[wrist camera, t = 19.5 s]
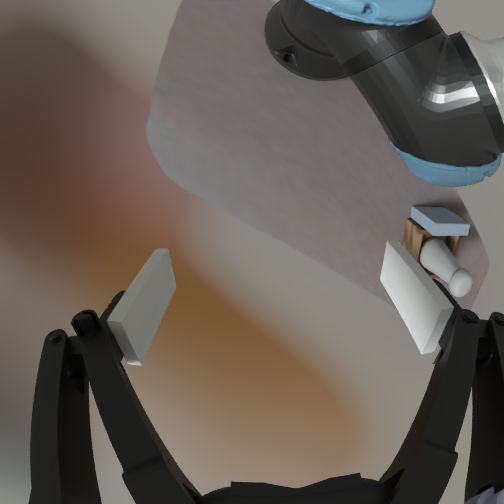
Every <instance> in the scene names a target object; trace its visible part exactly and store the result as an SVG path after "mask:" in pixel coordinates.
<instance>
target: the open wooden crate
mask: <svg viewBox="0 0 504 504" xmlns="http://www.w3.org/2000/svg"><path fill="white" fill-rule="evenodd" d="M426 238H430V239H431V238H438V239H440V240H442V241H444V242H445V244H446V245H447V247H448V248H449V250H450V251H451V253H452V254H453V256H454V255H455V251H456V247H457V243H458V239H459V236H433V235H432V234H431V233H429V232H428V231H427V230H426V229H425V228H423V227H422V226H421V225H420V224H419V223H417V222H416V221H415V220H414V219H407V220H406V227H405V233H404V239H403V244H402V246H403V247H404V248H405V249H406V250H407V251H408V252H409V253H410V255H411V256H412V257H413V258H414V259H415V260H416V261H417V262H418V264H419V265H420V266H421V267H422V268H423V269H424V271H425V272H426V273H427V274H428V275H429V276H430V278H431V279H434V278H440V277H438V276H437V275H435V274H434V273H432V272H431V271H429V270H428V269H426V268H425V267H424V266H423V265H422V263H421V261H420V257H419V251H420V246H421V243H422V242H423V241H424V240H425V239H426Z"/></svg>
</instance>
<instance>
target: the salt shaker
mask: <svg viewBox="0 0 504 504" xmlns="http://www.w3.org/2000/svg"><path fill="white" fill-rule="evenodd" d="M419 257H420V261H421V263H422V265H423V266H424V267H425V268H426V269H428V270H429V271H431V272H432V273H434V274H435V275H437V276H438V277H440V278H441V279H443V280H444V281H446V282H447V283H448V284H449V289H450V291H451V292H452V294H453V295H454V296H456V297H461V296H464V295H466V294H467V293H468V292H469V291H470V289H471V287H472V284H473V277H472V274H471V273H470V272H469V271H468V270H466V269H464V268H463V269H462V268H461V266H460V265H459V263H458V262H457V260H456V259H455V257H454V256H453V254H452V253H451V251H450V250H449V248H448V247H447V245H446V244H445V242H444V241H442V240H440V239H438V238H431V239H430V238H426V239H425V240H424V241H423V242H422V243H421V246H420V251H419Z"/></svg>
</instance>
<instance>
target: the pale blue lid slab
mask: <svg viewBox="0 0 504 504" xmlns="http://www.w3.org/2000/svg"><path fill="white" fill-rule="evenodd" d="M411 218H412V219H414V220H415V221H416V222H417V223H419V224H420V225H421V226H422V227H423V228H425V229H426V230H427V231H428V232H429V233H431V234H432V235H433V236H468V232H469V228H470V224H469V223H468V222H466V221H465V220H463V219H462V218H460V217H459V216H458V215H456V214H454V213H453V212H451V211H450V210H448V209H447V208H444V207H422V206H412V210H411Z"/></svg>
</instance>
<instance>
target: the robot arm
mask: <svg viewBox="0 0 504 504" xmlns="http://www.w3.org/2000/svg"><path fill="white" fill-rule="evenodd" d="M434 3H435V0H280V1H279V2H277V3H276V4H275V5H274V6H273V7H272V9H271V10H270V12H269V13H268V16H267V18H266V21H265V40H266V44H267V46H268V48H269V50H270V52H271V54H272V55H273V57H274V58H275V59H276V60H277V61H278V62H279V63H280V64H281V65H282V66H283V67H285V68H286V69H287V70H289V71H291V72H292V73H294V74H296V75H299V76H301V77H304V78H308V79H312V80H319V81H328V80H335V79H339V78H342V77H344V76H346V75H349V77H350V78H351V80H352V81H353V82H354V84H355V85H356V86H357V88H358V89H359V91H360V92H361V94H362V95H363V97H364V98H365V99H366V101H367V102H368V104H369V106H370V107H371V109H372V110H373V112H374V113H375V115H376V117H377V118H378V120H379V121H380V123H381V125H382V126H383V128H384V130H385V131H386V133H387V135H388V139H389V141H390V143H391V145H392V146H393V147H394V148H395V149H396V150H397V151H398V153H399V155H400V156H401V158H402V160H403V161H404V163H405V165H406V167H407V168H408V169H409V171H410V172H411V173H412V174H414V175H416V176H417V177H418V178H420V179H421V180H423V181H425V182H428V183H430V184H434V185H439V186H447V187H457V186H458V187H459V186H467V185H472V184H475V183H478V182H481V181H483V180H484V176H488V177H490V176H491V175H493V174H494V173H495V172H496V171H497V169H498V168H499V166H500V162H501V156H502V153H504V37H502V38H497V39H493V40H490V41H482V40H480V39H479V38H477V37H475V36H473V35H471V34H469V33H466V32H464V31H461V32H458V33H455V34H452V35H449V36H448V35H446V33H445V32H444V31H443V29H442V28H441V26H440V25H439V23H438V22H437V20H436V19H435V18H434V16H433V15H432V9H433V6H434ZM380 281H381V282H382V284H383V286H384V287H385V289H386V291H387V292H388V294H389V296H390V297H391V299H392V301H393V302H394V304H395V306H396V308H397V309H398V311H399V313H400V315H401V316H402V318H403V320H404V322H405V324H406V326H407V327H408V329H409V331H410V333H411V335H412V337H413V339H414V340H415V342H416V344H417V346H418V348H419V350H420V352H421V354H426V353H430V352H434V350H435V348H436V346H437V344H438V343H439V345H440V346H441V350H440V352H439V354H438V355H437V357H436V359H435V361H434V363H433V364H435V363H436V364H435V367H434V370H433V373H432V376H431V379H430V382H429V385H428V387H427V390H426V393H425V395H424V398H423V400H422V403H421V405H420V407H419V410H418V412H417V414H416V417H415V419H414V421H413V423H412V426H411V428H410V430H409V432H408V434H407V436H406V438H405V440H404V442H403V444H402V446H401V448H400V450H399V452H398V453H397V455H396V457H395V459H394V461H393V462H392V464H391V465H390V467H389V468H388V470H387V471H386V472H385V473H384V474H383V476H382V477H381V478H380V480H379V481H376V480H372V479H366V478H361V475H360V473H356V474H351V475H345V476H339V477H333V478H328V479H326V480H323V481H320V482H317V483H314V484H311V485H308V486H305V487H301V488H290V487H284V486H278V485H273V484H268V483H253V482H231V487H225V488H221V489H218V490H215V491H212V492H210V493H208V494H205V495H204V496H202V495H201V494H200V493H199V492H198V490H197V489H196V488H195V487H194V486H193V484H192V483H191V482H190V481H189V480H188V479H187V477H186V476H185V475H184V473H183V472H182V471H181V469H180V468H179V466H178V465H177V463H176V462H175V460H174V459H173V457H172V456H171V454H170V453H169V451H168V450H167V448H166V447H165V445H164V443H163V442H162V440H161V438H160V437H159V435H158V433H157V432H156V430H155V428H154V427H153V425H152V423H151V421H150V420H149V418H148V416H147V414H146V412H145V410H144V408H143V406H142V405H141V403H140V401H139V399H138V397H137V395H136V393H135V391H134V389H133V387H132V385H131V382H130V380H129V378H128V376H127V374H126V371H125V369H124V367H123V365H122V363H121V360H122V358H123V356H124V357H125V359H126V361H127V363H128V364H133V365H140V366H142V364H143V362H144V359H145V357H146V354H147V352H148V349H149V347H150V345H151V342H152V340H153V338H154V336H155V333H156V331H157V329H158V326H159V324H160V322H161V320H162V317H163V315H164V313H165V311H166V308H167V306H168V304H169V302H170V300H171V298H172V295H173V293H174V291H175V289H176V283H175V278H174V274H173V270H172V265H171V261H170V256H169V252H168V249H167V248H164V249H156V250H155V251H154V253H153V254H152V256H151V257H150V258H149V259H148V261H147V262H146V264H145V265H144V266H143V268H142V269H141V271H140V272H139V273H138V275H137V276H136V278H135V279H134V280H133V282H132V283H131V285H130V286H129V288H128V289H127V290H126V291H121V292H119V293H118V294H117V295H116V296H115V297H114V298H113V300H112V301H111V303H110V304H109V305H108V307H107V309H106V310H105V311H104V312H103V314H102V316H101V317H100V318H98V316H97V314H96V312H95V311H94V310H84V311H81V312H79V313H78V314H76V315H75V316H74V317H73V319H72V322H71V324H72V326H73V328H74V330H75V332H76V334H77V336H71V337H68V336H67V334H66V332H65V331H64V330H62V329H57V330H54V331H52V332H50V333H49V334H48V335H47V337H46V339H45V341H44V345H43V350H42V354H41V359H40V364H39V369H38V374H37V380H36V387H35V395H34V402H33V411H32V422H31V423H32V424H31V442H30V463H31V464H30V466H31V485H32V489H31V494H30V500H29V504H102V503H101V497H100V492H99V488H98V482H97V476H96V471H95V464H94V457H93V449H92V440H91V429H90V415H89V414H90V413H89V382H90V385H91V388H92V392H93V395H94V398H95V401H96V404H97V407H98V410H99V413H100V416H101V418H102V421H103V424H104V426H105V429H106V431H107V434H108V436H109V439H110V441H111V443H112V446H113V448H114V450H115V452H116V455H117V457H118V459H119V461H120V463H121V465H122V467H123V471H124V472H123V474H122V478H123V480H124V483H125V484H126V487H127V488H128V490H129V492H130V494H131V496H132V497H133V499H134V501H135V503H136V504H438V503H439V501H440V499H441V497H442V495H443V493H444V490H445V488H446V486H447V484H448V482H449V479H450V477H451V474H452V472H453V469H454V467H455V464H456V462H457V458H458V453H457V452H455V446H456V443H457V440H458V437H459V434H460V430H461V427H462V424H463V420H464V417H465V413H466V409H467V405H468V401H469V396H470V392H471V387H472V402H473V403H472V405H473V410H472V411H473V413H472V437H471V450H470V459H469V466H468V473H467V479H466V487H465V500H464V501H465V502H464V504H504V314H502V313H499V312H493V313H492V314H491V316H490V318H489V320H480V319H479V318H478V316H477V315H476V314H475V313H474V312H472V311H470V310H467V309H462V308H461V307H460V306H459V304H458V303H457V302H456V301H455V299H454V298H453V297H452V296H451V295H450V293H449V292H448V291H446V288H445V287H444V286H443V285H442V284H441V283H440V282H439V281H437V280H436V279H431V278H430V276H429V275H428V274H427V273H426V272H425V271H424V269H423V268H422V267H421V266H420V265H419V264H418V262H417V261H416V260H415V259H414V258H413V257H412V256H411V255H410V253H409V252H408V251H407V250H406V249H405V248H404V247H403V246H402V245H401V244H400V243H399V242H398V241H387V244H386V250H385V256H384V262H383V267H382V272H381V277H380Z"/></svg>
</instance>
